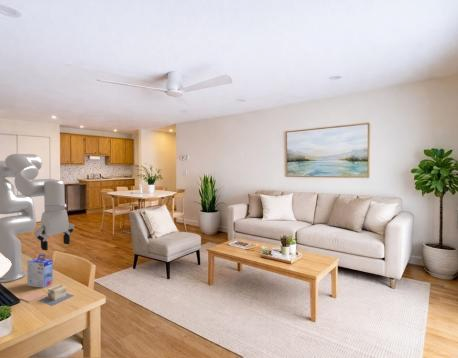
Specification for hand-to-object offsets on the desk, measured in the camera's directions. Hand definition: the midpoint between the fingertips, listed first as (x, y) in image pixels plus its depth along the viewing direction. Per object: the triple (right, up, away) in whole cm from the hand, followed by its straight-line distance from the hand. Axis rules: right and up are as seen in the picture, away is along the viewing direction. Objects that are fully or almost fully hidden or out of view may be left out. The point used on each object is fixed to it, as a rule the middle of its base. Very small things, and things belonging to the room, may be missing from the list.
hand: (56, 246), depth 121 cm
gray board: (0, -23, 0) cm, 23 cm away
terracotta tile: (-11, -23, +1) cm, 25 cm away
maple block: (0, -23, +1) cm, 23 cm away
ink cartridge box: (-16, -22, +13) cm, 30 cm away
